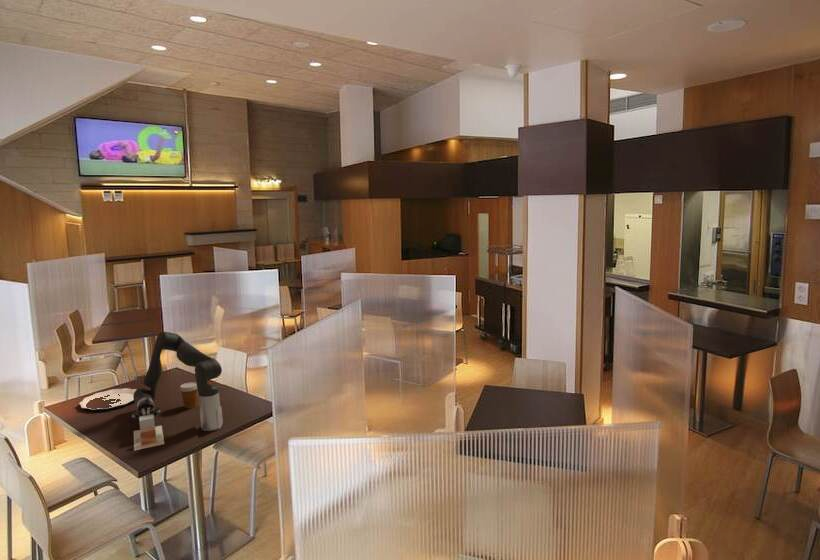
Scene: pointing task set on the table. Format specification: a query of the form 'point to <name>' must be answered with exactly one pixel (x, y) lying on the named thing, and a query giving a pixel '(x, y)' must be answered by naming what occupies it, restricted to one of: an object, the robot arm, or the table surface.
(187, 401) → the disposable coffee cup
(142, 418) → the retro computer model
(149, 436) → the block
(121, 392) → the plate
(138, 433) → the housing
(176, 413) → the table surface
